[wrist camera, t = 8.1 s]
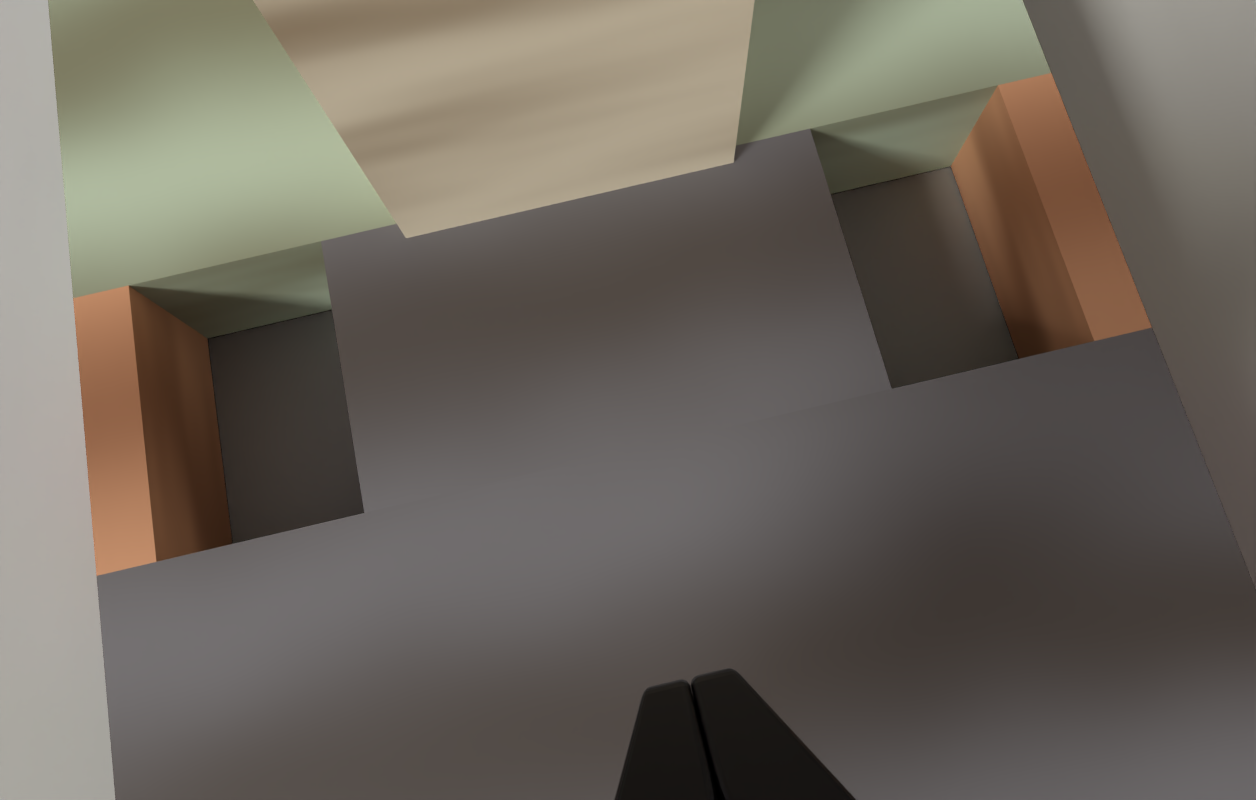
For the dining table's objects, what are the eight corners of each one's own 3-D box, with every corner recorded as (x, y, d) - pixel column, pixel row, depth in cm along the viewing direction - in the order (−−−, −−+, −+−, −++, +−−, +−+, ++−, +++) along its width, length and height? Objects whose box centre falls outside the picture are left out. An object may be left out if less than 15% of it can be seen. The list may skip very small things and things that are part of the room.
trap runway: (1256, 859, 17) (1434, 924, 13) (243, 1108, 16) (109, 1251, 12) (848, -245, 23) (884, -426, 19) (113, -81, 23) (-1, -231, 19)
